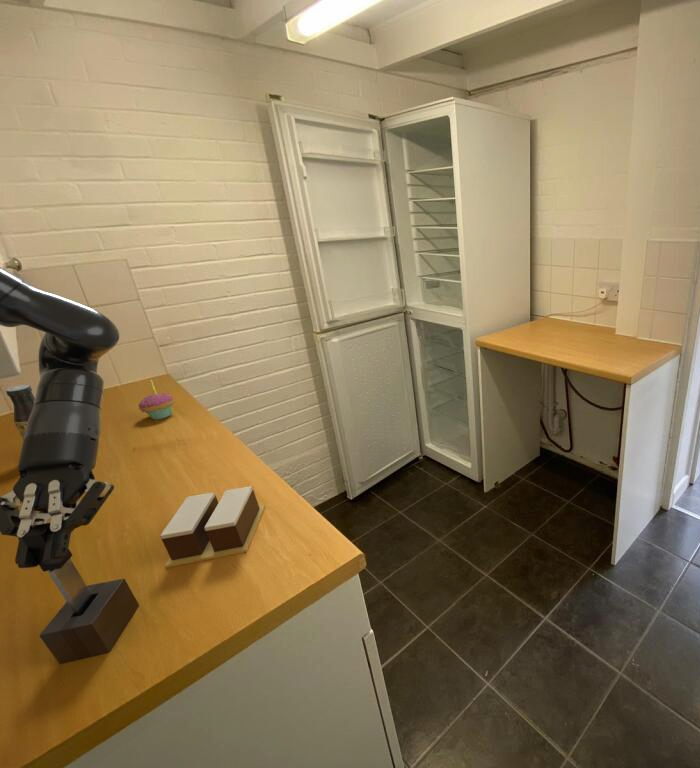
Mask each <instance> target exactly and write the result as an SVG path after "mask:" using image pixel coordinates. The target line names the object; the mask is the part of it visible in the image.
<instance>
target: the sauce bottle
mask: <svg viewBox="0 0 700 768" xmlns="http://www.w3.org/2000/svg"><path fill="white" fill-rule="evenodd" d="M5 393H6V395H7V396H8V397H9V398H10V400H11V402H12V404H13V422H14V425H15V427H16V429H17V431H18V433H19V434H20V436H21V438H22V441H23V440H24V435H25V431H26V426H27V422H28V419H29V417H30V415H31V412H32V410H33V407H34V401H35V396H34V394H33V389H32V387H31V385H29V384H20V385H14V386H12V387H9V388H6V389H5Z"/></svg>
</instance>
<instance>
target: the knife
mask: <svg viewBox="0 0 700 768" xmlns="http://www.w3.org/2000/svg"><path fill="white" fill-rule="evenodd" d="M50 533H52V531H51V530H50V522H47V523H45V524H39V525H35V526H34V527H33V528H32V529H30V530H29V531H28V532H27V533H26V534H25V535H24V536H23V537H22V539H23V541H24V542H25V544H26V546H27V547H28V549H29V550H30V552H31V553H32V555H33V556H34V558H35V559H36V561H37V563H38V564H39V565H38V566H39V567H40V569H41V570H42V572H44V573H45V572H48V575H49V577H51V580H52V581H53V582H54V584H55V586H56V587H57V589H58V590H59V592H60V593H61V595H62V597H63V598H64V600H65V602H67V603H68V604H69V606H70V608H71V609H72V611H73V612H74V614H75V615H76V616H81V615H83V613H84V612H85V611H86V609H87V608H88V607H89V605H90V604H91V603H92V601H93V600H94V597H93V596H92V594H91V592H90V591H89V589H88V587H87V586H88V585H87V584H86V583H85V581H84V579H83V577H82V576H81V574H80V573H79V571H78V569H77V567H76V565H75V563H74V562H73V561H72V557H73V553H72V551H71V550H70V549H69V548H68V553H67V555H66V556H65V557H63V560H62V561H61V562H59V563H54V564H45V563H43V556H44V551H45V545H46V541H47V535H48V534H50Z"/></svg>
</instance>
